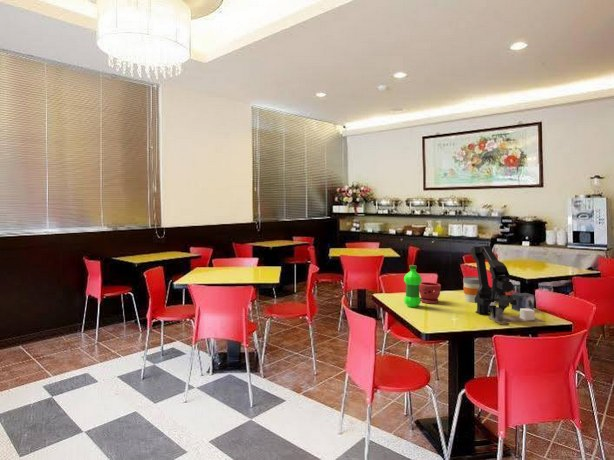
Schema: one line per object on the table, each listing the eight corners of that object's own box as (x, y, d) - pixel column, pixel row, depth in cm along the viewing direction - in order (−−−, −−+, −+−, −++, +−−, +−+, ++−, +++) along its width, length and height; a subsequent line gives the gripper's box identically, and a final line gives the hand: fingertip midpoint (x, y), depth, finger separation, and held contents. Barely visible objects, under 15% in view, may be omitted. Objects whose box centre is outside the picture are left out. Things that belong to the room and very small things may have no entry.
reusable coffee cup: (479, 299, 268) (480, 276, 268) (486, 303, 256) (486, 280, 255) (460, 298, 270) (460, 276, 269) (465, 303, 257) (466, 279, 256)
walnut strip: (500, 324, 209) (500, 310, 209) (488, 318, 221) (488, 305, 221) (545, 323, 211) (545, 310, 210) (530, 317, 223) (531, 304, 222)
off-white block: (525, 320, 214) (525, 310, 213) (519, 317, 219) (519, 308, 218) (534, 320, 214) (534, 310, 214) (528, 317, 219) (528, 308, 219)
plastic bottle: (401, 307, 245) (402, 266, 244) (406, 303, 255) (406, 264, 253) (418, 309, 241) (419, 267, 239) (422, 305, 250) (423, 265, 249)
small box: (519, 314, 231) (519, 295, 231) (510, 311, 238) (511, 293, 237) (534, 312, 234) (535, 294, 234) (525, 310, 241) (526, 292, 240)
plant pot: (436, 305, 251) (436, 286, 250) (415, 302, 259) (416, 283, 258) (443, 301, 261) (443, 283, 260) (423, 298, 269) (423, 280, 268)
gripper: (488, 291, 206) (487, 322, 206) (524, 291, 207) (523, 321, 208) (477, 287, 217) (477, 316, 218) (511, 287, 218) (510, 315, 219)
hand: (497, 317), depth 215 cm, fingers closed on walnut strip, 3 cm apart
